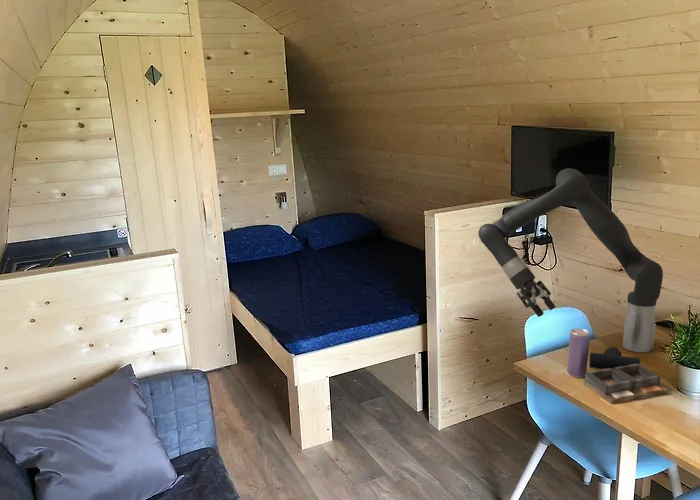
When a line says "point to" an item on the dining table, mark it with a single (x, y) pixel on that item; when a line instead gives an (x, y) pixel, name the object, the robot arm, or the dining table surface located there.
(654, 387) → the socket board
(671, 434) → the dining table surface
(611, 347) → the pipe connector
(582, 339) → the beverage can
